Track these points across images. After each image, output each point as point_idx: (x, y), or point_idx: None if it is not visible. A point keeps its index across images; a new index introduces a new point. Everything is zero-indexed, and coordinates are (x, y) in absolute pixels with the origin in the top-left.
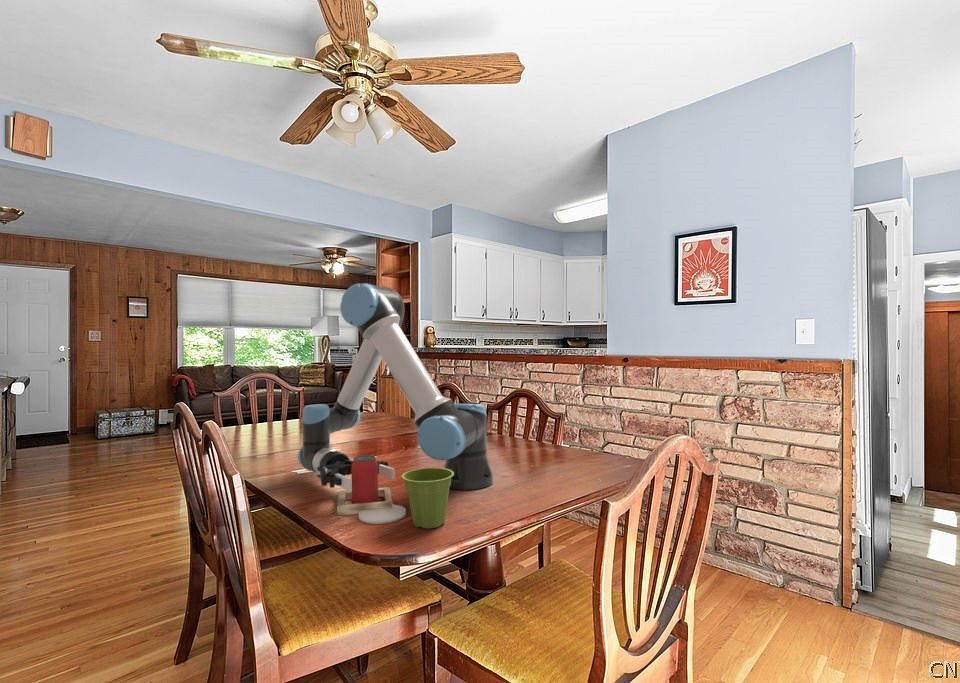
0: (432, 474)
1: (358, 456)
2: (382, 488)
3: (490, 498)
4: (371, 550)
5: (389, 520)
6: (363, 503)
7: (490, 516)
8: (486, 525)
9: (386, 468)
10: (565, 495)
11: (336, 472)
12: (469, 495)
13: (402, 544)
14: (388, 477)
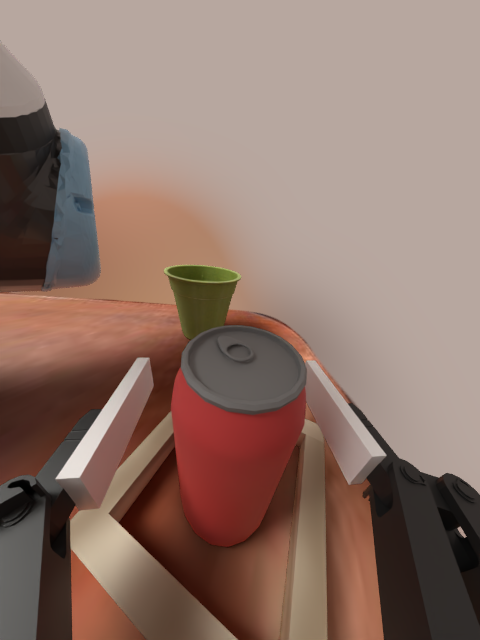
0: (174, 284)
1: (263, 401)
2: (95, 541)
3: (57, 335)
4: (282, 327)
5: None
6: None
7: (144, 313)
8: (170, 308)
9: (131, 393)
10: (23, 301)
11: (409, 565)
12: (38, 359)
13: (254, 322)
14: (143, 405)
